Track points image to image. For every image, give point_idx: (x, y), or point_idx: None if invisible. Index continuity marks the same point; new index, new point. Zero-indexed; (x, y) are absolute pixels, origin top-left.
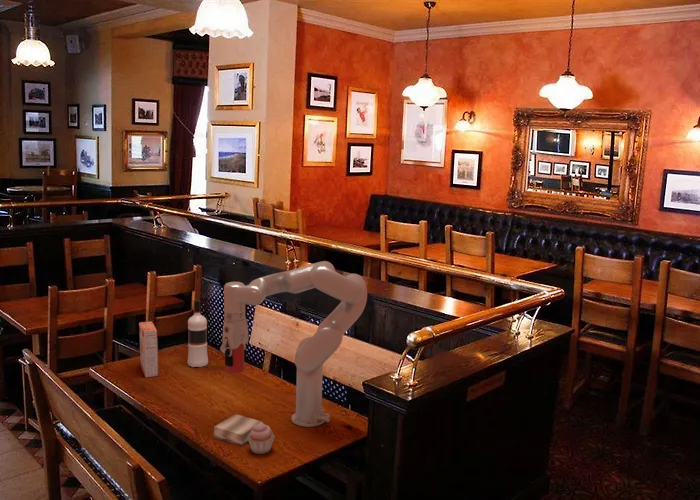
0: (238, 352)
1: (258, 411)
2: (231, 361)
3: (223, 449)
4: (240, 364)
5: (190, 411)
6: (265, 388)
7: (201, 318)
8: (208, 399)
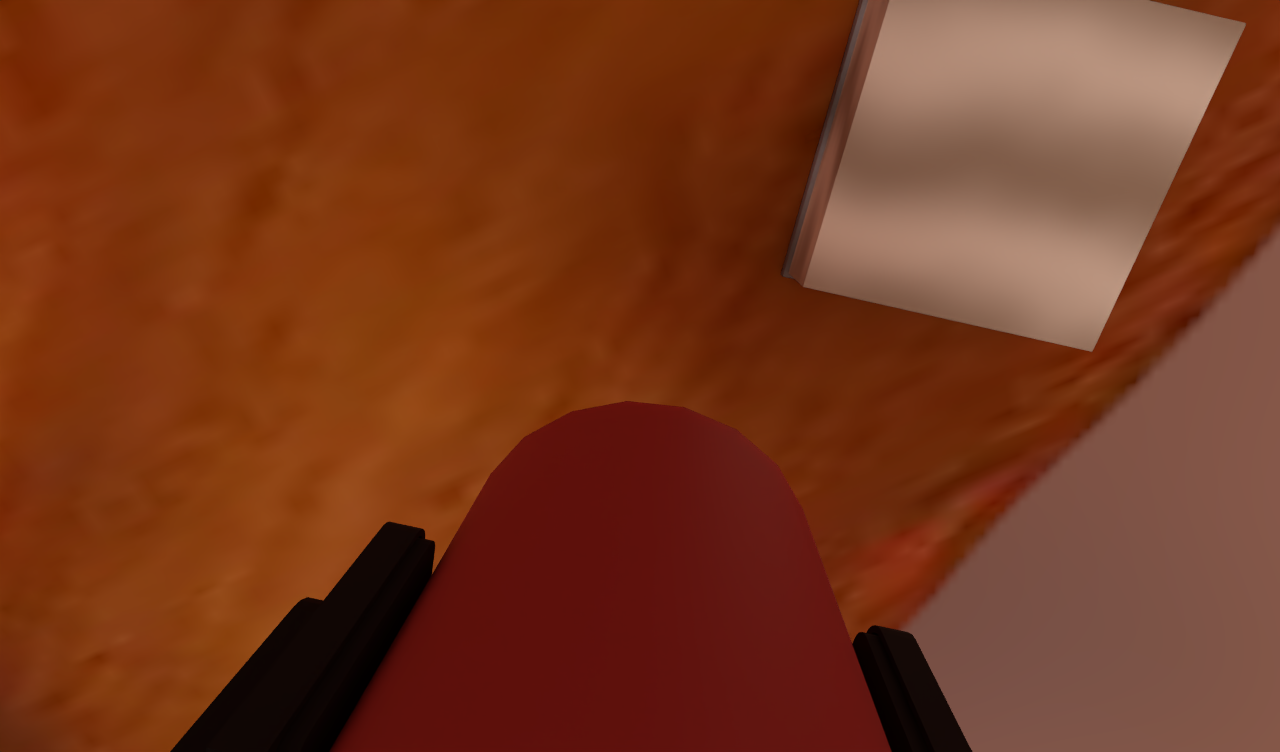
0: None
1: (502, 187)
2: (956, 750)
3: (1234, 172)
4: (739, 502)
5: None
6: (84, 311)
7: None
8: None
